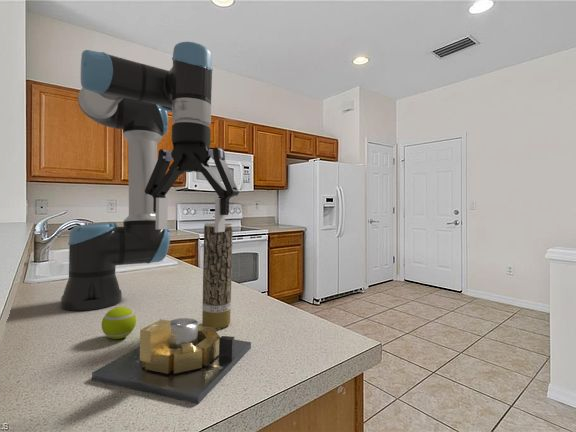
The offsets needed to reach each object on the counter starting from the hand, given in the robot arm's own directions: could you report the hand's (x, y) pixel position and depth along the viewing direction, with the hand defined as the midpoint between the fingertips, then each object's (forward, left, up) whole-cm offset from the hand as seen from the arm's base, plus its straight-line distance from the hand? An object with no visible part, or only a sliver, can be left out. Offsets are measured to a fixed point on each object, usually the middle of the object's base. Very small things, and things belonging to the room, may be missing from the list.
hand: (189, 230), depth 65 cm
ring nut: (+2, -7, -23) cm, 24 cm away
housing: (+2, -5, -24) cm, 25 cm away
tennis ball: (-17, 0, -24) cm, 30 cm away
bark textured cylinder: (-1, +14, -24) cm, 28 cm away
